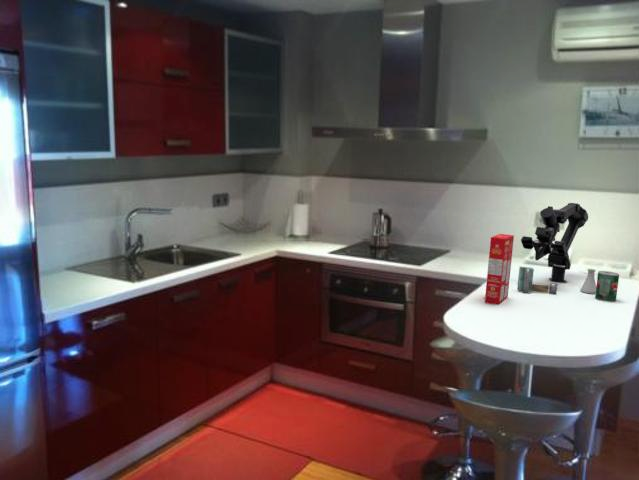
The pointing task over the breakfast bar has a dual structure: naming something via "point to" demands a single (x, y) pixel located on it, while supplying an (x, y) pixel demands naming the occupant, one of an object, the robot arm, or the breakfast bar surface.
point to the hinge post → (552, 288)
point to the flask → (589, 283)
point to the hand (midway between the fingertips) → (536, 259)
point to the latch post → (526, 281)
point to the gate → (532, 286)
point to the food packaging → (499, 268)
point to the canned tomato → (607, 286)
